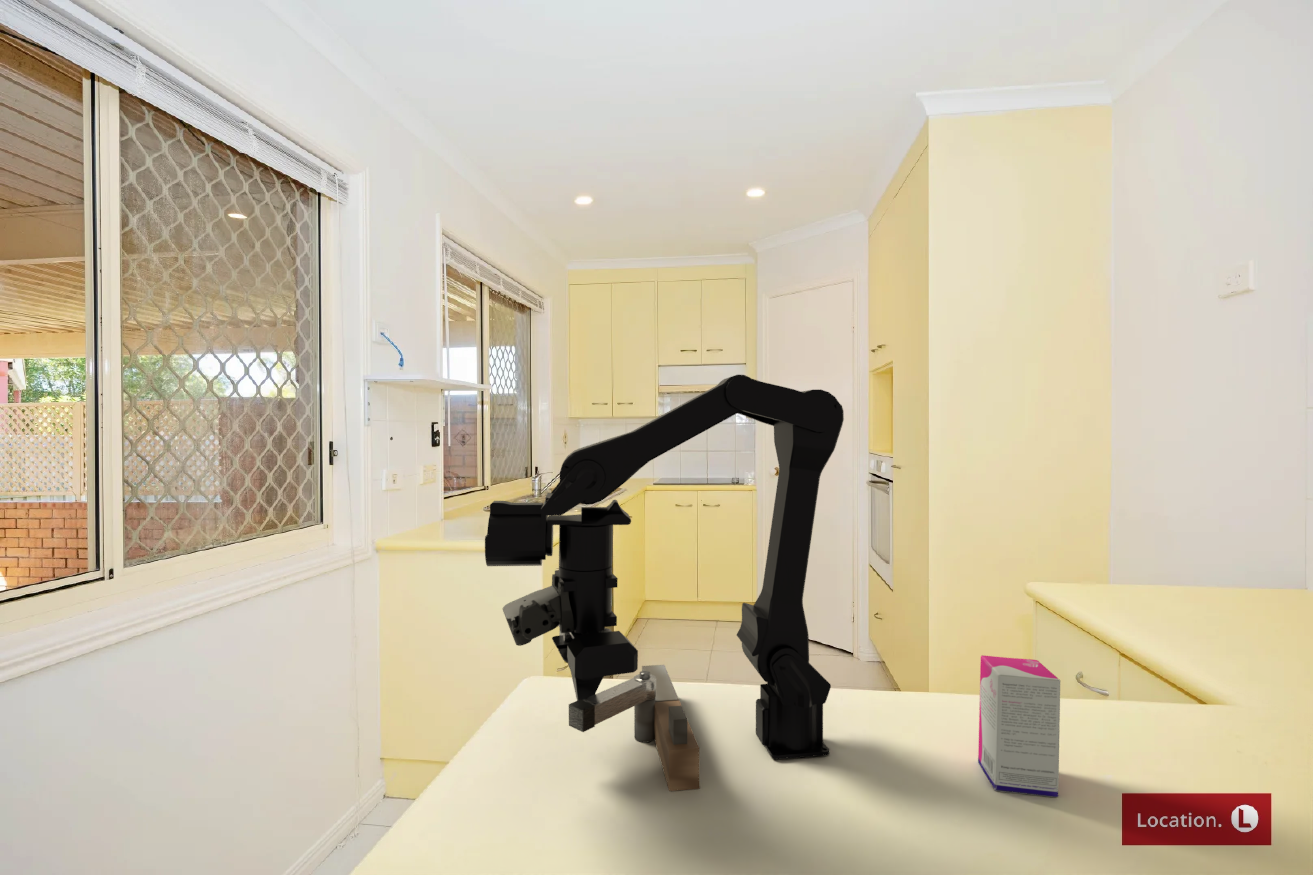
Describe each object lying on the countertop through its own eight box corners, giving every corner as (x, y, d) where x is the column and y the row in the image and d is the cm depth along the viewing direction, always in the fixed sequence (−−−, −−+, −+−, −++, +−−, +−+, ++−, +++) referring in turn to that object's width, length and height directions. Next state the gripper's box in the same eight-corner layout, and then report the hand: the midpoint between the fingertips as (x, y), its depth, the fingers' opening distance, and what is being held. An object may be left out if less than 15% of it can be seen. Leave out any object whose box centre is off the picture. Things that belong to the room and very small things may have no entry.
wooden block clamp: (664, 694, 83) (664, 645, 83) (699, 788, 62) (699, 722, 62) (625, 696, 83) (625, 647, 83) (646, 792, 61) (646, 726, 61)
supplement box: (1061, 798, 60) (1062, 679, 60) (994, 791, 61) (994, 674, 61) (1037, 766, 66) (1038, 657, 65) (976, 760, 67) (976, 653, 67)
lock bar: (644, 689, 74) (644, 666, 74) (660, 695, 72) (660, 672, 72) (567, 724, 65) (567, 698, 65) (584, 732, 63) (584, 706, 63)
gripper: (499, 550, 73) (497, 681, 74) (522, 596, 56) (520, 767, 56) (592, 545, 77) (590, 669, 78) (641, 586, 60) (638, 746, 60)
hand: (583, 707), depth 68 cm, fingers closed
